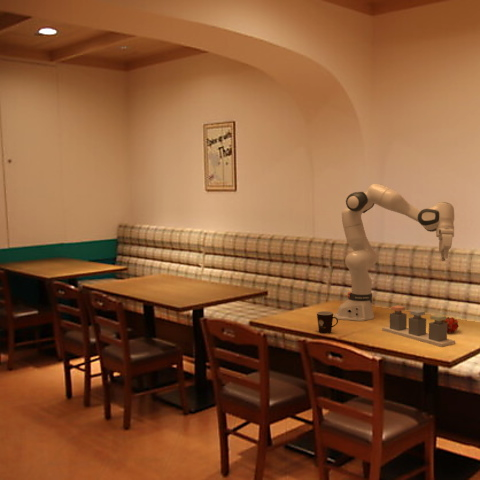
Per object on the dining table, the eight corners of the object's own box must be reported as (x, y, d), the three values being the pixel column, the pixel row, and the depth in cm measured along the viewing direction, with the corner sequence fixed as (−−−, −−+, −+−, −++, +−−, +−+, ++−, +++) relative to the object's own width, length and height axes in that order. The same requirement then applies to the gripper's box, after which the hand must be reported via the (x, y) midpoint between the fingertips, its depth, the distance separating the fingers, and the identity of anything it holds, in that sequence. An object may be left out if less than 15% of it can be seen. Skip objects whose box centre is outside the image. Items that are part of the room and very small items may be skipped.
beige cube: (410, 320, 310) (410, 311, 310) (416, 318, 313) (417, 309, 312) (417, 321, 306) (418, 312, 305) (424, 320, 309) (424, 311, 308)
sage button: (430, 325, 300) (430, 315, 299) (437, 323, 302) (437, 314, 302) (438, 327, 295) (439, 317, 295) (445, 325, 298) (445, 316, 298)
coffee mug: (313, 330, 326) (313, 312, 324) (328, 329, 329) (328, 310, 328) (324, 336, 315) (324, 316, 314) (339, 334, 318) (339, 315, 317)
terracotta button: (391, 315, 321) (391, 306, 320) (397, 314, 323) (397, 305, 323) (398, 317, 317) (398, 308, 316) (405, 315, 319) (405, 307, 319)
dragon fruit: (440, 336, 315) (454, 336, 322) (452, 329, 310) (466, 329, 317) (433, 321, 319) (447, 321, 326) (445, 314, 314) (459, 314, 321)
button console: (382, 330, 324) (382, 312, 322) (395, 327, 329) (395, 310, 328) (441, 347, 292) (441, 327, 291) (455, 343, 297) (455, 324, 296)
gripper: (436, 236, 330) (435, 262, 328) (441, 229, 310) (440, 256, 308) (448, 237, 329) (448, 262, 327) (454, 229, 309) (454, 257, 307)
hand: (444, 259), depth 317 cm, fingers open, 8 cm apart
